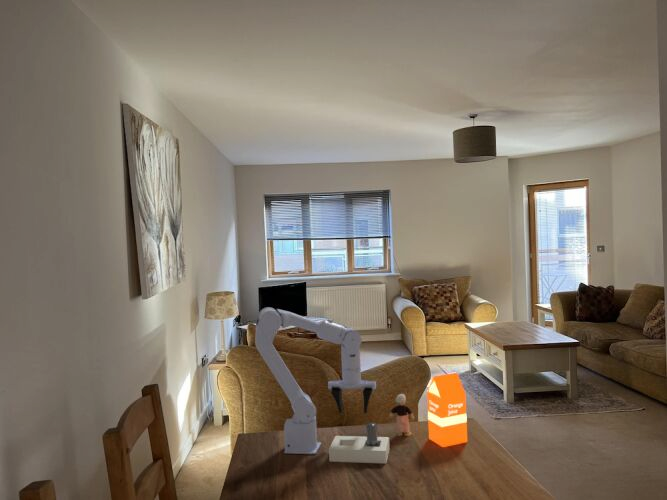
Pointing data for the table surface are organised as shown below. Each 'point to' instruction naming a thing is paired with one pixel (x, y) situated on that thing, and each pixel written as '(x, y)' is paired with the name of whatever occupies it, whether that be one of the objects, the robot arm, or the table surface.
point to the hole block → (358, 450)
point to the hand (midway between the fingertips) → (353, 412)
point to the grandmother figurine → (402, 415)
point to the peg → (372, 434)
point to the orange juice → (447, 410)
